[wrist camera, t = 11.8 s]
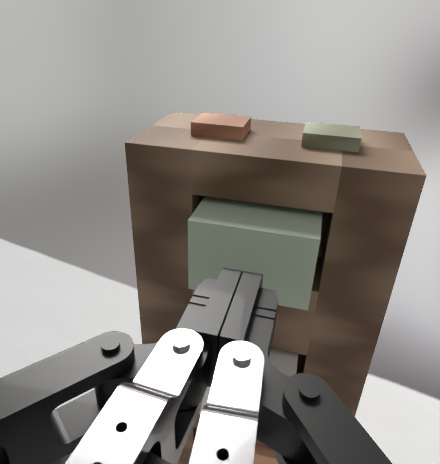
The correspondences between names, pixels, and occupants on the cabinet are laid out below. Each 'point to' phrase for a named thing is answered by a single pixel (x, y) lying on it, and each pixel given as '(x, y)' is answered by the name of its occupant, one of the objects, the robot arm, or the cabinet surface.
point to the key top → (256, 245)
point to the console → (287, 195)
